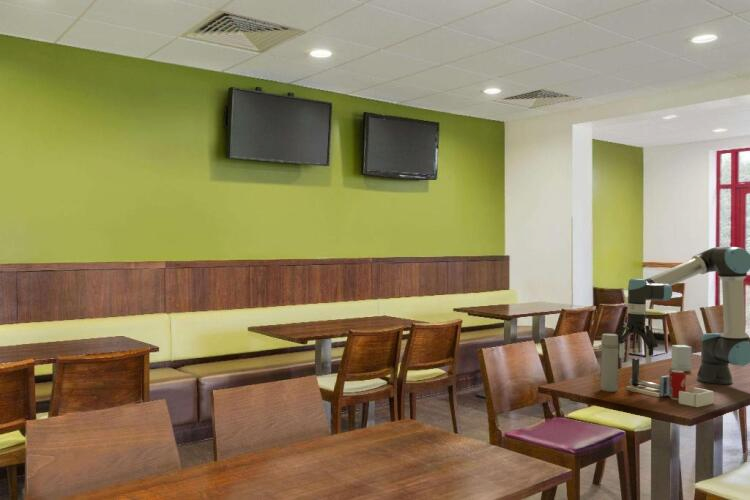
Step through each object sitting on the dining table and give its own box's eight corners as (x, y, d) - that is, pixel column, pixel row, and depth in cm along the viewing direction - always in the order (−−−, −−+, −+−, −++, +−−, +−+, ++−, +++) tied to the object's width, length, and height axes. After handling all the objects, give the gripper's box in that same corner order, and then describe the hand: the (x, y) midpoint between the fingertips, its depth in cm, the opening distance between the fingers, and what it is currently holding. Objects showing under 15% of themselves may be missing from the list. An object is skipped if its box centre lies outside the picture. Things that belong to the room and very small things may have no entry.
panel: (636, 387, 296) (636, 383, 296) (669, 394, 283) (669, 390, 283) (625, 389, 292) (625, 385, 292) (658, 397, 278) (658, 392, 278)
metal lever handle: (625, 387, 292) (626, 358, 292) (634, 385, 296) (635, 357, 296) (663, 396, 277) (663, 365, 277) (672, 394, 281) (673, 363, 281)
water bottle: (618, 389, 292) (619, 334, 292) (617, 393, 285) (618, 336, 285) (597, 387, 296) (598, 332, 296) (595, 390, 289) (596, 334, 289)
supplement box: (691, 371, 336) (692, 347, 336) (677, 371, 336) (677, 346, 336) (685, 368, 343) (685, 344, 343) (670, 368, 343) (671, 344, 343)
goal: (695, 399, 276) (695, 387, 276) (713, 403, 269) (713, 391, 269) (678, 403, 269) (678, 391, 269) (697, 407, 262) (697, 394, 262)
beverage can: (687, 401, 272) (687, 372, 272) (671, 400, 273) (671, 371, 273) (683, 397, 278) (683, 369, 278) (667, 396, 279) (667, 369, 279)
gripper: (607, 310, 300) (606, 356, 300) (657, 316, 279) (655, 365, 280) (617, 309, 304) (616, 355, 305) (667, 315, 284) (665, 364, 284)
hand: (634, 360), depth 292 cm, fingers open, 13 cm apart
